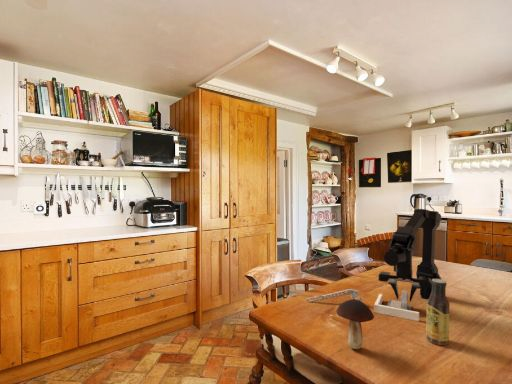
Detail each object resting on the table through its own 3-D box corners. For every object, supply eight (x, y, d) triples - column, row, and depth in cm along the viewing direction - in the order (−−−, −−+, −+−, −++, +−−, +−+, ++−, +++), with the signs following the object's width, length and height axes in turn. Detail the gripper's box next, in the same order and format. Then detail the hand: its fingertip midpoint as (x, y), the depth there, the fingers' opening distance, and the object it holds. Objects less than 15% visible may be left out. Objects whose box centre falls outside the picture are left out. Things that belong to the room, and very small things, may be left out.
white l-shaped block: (419, 307, 118) (419, 300, 118) (418, 321, 105) (418, 313, 105) (379, 300, 126) (379, 293, 126) (374, 312, 113) (374, 304, 113)
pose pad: (411, 306, 119) (411, 305, 119) (410, 316, 109) (410, 315, 109) (388, 302, 124) (388, 301, 124) (384, 311, 114) (384, 310, 114)
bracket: (363, 302, 119) (352, 280, 120) (316, 321, 122) (306, 299, 123) (361, 299, 122) (350, 278, 123) (316, 317, 125) (306, 297, 126)
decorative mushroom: (381, 350, 86) (381, 301, 86) (359, 363, 79) (359, 310, 79) (350, 335, 95) (350, 291, 95) (328, 346, 88) (328, 298, 88)
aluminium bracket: (406, 313, 112) (406, 296, 112) (389, 309, 115) (389, 293, 115) (407, 306, 118) (407, 290, 118) (391, 303, 121) (391, 288, 122)
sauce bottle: (421, 336, 94) (421, 277, 94) (439, 336, 94) (439, 276, 95) (435, 347, 87) (435, 283, 87) (454, 346, 88) (454, 283, 88)
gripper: (430, 260, 118) (430, 298, 118) (381, 255, 127) (381, 290, 127) (430, 267, 108) (430, 307, 108) (378, 260, 118) (378, 298, 118)
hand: (404, 300), depth 115 cm, fingers open, 4 cm apart
